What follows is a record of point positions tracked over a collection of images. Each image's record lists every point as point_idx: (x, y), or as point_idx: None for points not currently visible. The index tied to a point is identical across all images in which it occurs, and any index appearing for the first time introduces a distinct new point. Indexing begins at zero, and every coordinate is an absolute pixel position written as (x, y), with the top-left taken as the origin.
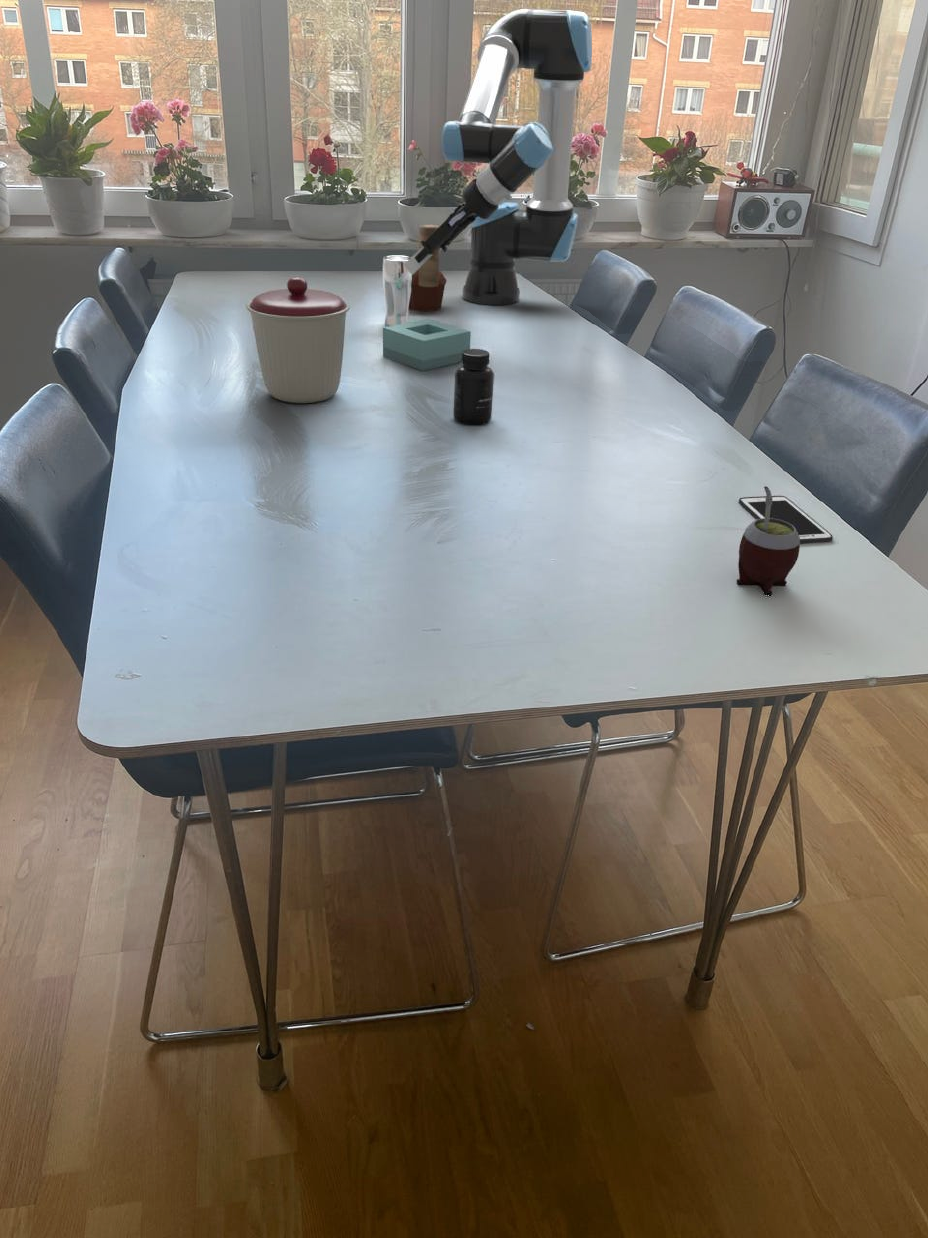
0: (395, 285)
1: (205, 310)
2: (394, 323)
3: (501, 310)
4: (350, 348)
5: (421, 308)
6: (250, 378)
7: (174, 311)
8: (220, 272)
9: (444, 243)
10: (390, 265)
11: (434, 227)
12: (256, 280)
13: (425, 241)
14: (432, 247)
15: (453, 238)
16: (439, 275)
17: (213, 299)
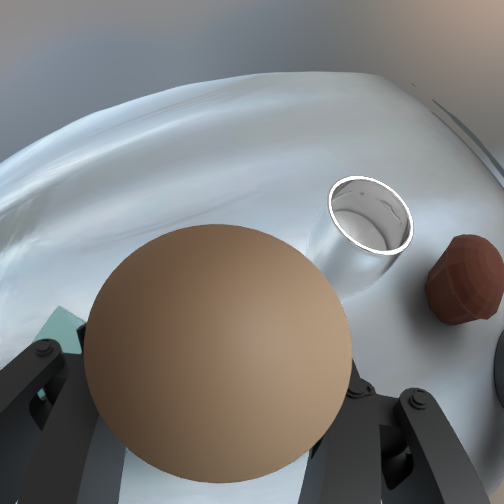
0: (307, 256)
1: (266, 87)
2: None
3: (478, 419)
4: (121, 259)
5: (430, 299)
6: (19, 201)
7: (250, 76)
8: (399, 88)
9: (309, 459)
10: (321, 209)
11: (170, 426)
12: (401, 106)
13: (19, 356)
14: (33, 406)
15: (381, 495)
16: (487, 303)
17: (312, 86)
